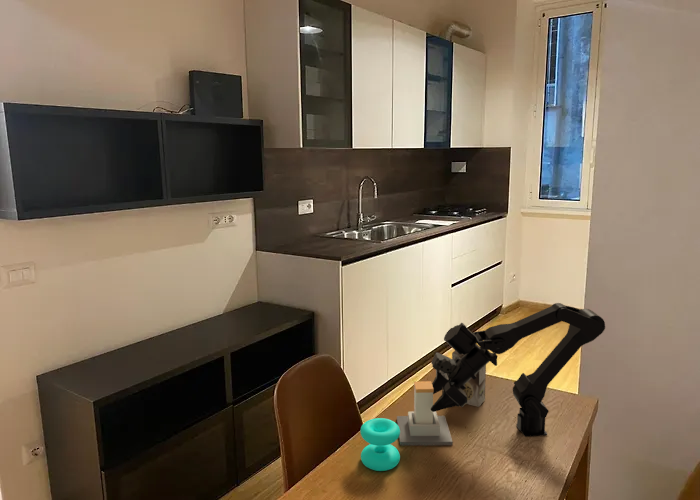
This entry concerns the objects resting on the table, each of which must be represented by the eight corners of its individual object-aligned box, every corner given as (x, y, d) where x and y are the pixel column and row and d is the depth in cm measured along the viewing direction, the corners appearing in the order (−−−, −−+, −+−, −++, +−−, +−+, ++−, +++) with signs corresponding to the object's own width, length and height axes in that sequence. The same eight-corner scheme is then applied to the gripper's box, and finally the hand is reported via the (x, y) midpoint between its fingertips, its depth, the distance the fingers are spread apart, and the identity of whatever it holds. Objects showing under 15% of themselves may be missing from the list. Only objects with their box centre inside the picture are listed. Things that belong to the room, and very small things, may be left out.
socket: (444, 418, 159) (444, 406, 159) (452, 445, 146) (452, 431, 145) (396, 419, 160) (396, 406, 159) (400, 445, 146) (400, 431, 145)
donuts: (352, 427, 136) (376, 412, 144) (352, 463, 138) (376, 446, 146) (384, 440, 130) (407, 424, 138) (384, 478, 132) (407, 459, 140)
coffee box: (485, 399, 171) (487, 350, 168) (478, 407, 166) (480, 357, 163) (458, 392, 176) (459, 345, 173) (450, 400, 171) (451, 352, 167)
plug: (430, 423, 155) (431, 381, 152) (433, 432, 150) (433, 389, 148) (413, 424, 155) (413, 381, 152) (415, 433, 150) (415, 389, 148)
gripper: (444, 333, 157) (406, 369, 159) (455, 358, 138) (411, 399, 141) (471, 358, 158) (433, 394, 160) (485, 386, 140) (442, 426, 142)
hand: (429, 402), depth 151 cm, fingers open, 9 cm apart
